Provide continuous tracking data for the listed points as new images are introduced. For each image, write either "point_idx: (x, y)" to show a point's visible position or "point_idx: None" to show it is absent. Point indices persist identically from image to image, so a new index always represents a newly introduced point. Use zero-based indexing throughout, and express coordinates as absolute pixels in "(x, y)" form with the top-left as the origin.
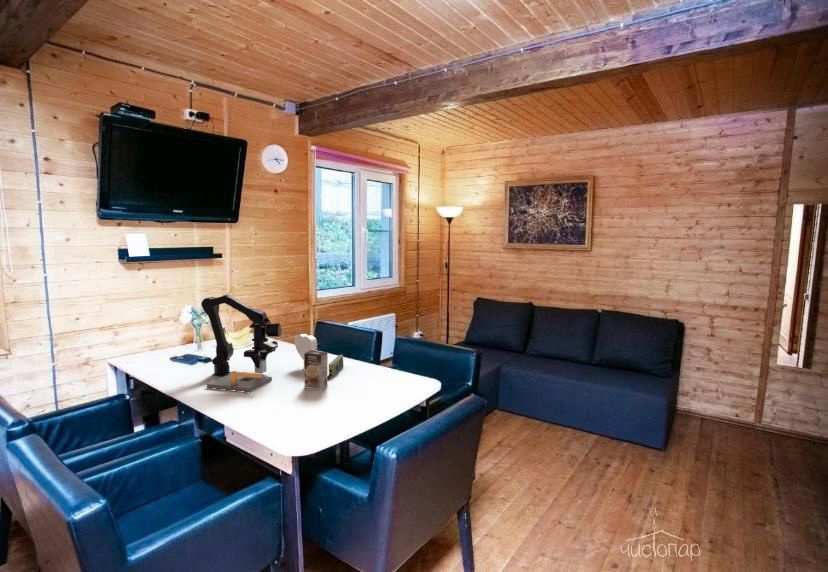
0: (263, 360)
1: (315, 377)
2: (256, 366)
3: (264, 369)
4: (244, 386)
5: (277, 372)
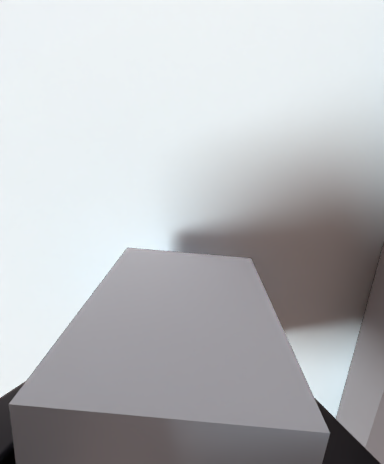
0: (146, 440)
1: None
2: None
3: (174, 268)
4: None
5: (14, 123)
